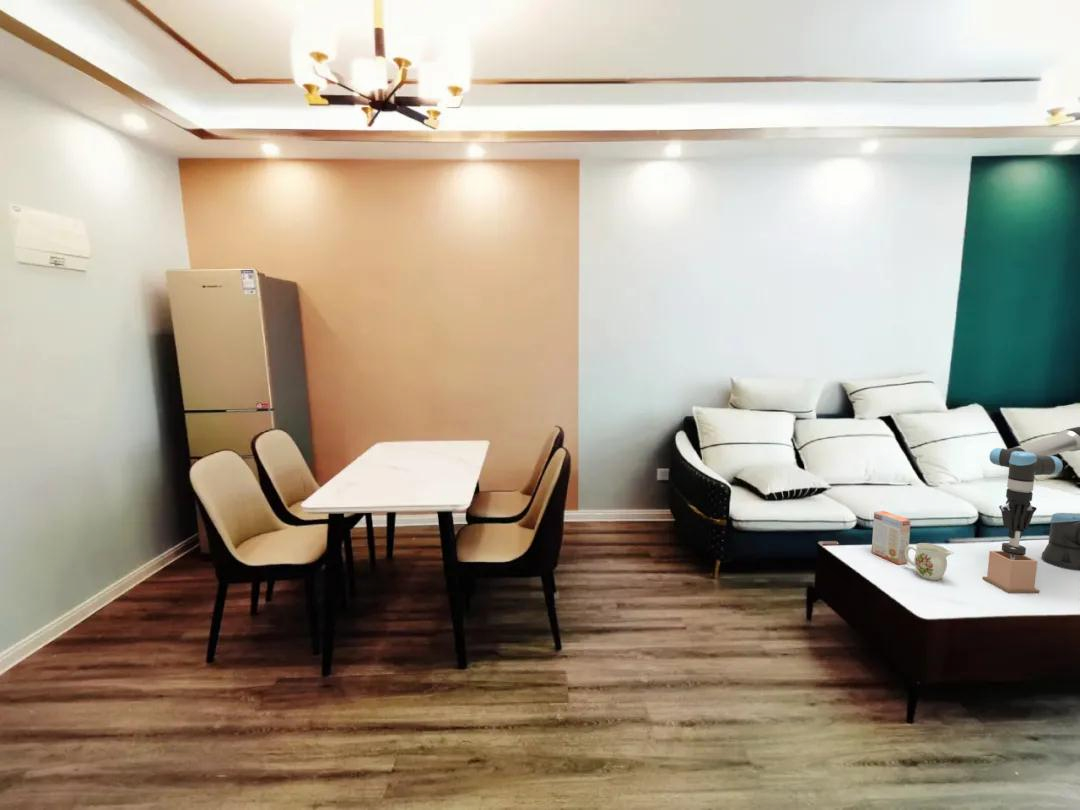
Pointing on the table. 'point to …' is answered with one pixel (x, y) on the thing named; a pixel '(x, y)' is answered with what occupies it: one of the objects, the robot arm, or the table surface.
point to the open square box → (1011, 572)
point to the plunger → (1013, 550)
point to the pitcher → (929, 560)
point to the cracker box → (890, 536)
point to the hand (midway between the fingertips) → (1013, 545)
